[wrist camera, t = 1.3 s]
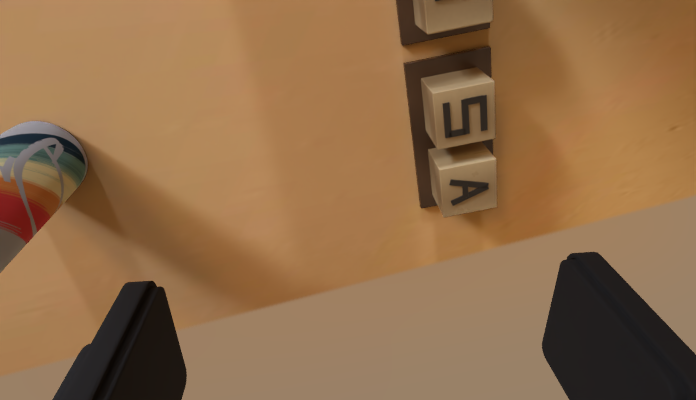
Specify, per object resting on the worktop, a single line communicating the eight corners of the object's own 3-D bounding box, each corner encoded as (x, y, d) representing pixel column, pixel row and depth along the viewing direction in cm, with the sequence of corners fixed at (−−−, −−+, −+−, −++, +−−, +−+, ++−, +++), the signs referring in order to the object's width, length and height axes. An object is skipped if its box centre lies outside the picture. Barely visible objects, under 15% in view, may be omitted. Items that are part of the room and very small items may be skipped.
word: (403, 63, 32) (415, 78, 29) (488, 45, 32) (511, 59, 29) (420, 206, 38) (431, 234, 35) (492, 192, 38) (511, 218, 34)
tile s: (420, 78, 32) (432, 93, 29) (477, 66, 32) (495, 81, 29) (425, 130, 34) (437, 150, 31) (478, 120, 34) (496, 139, 31)
